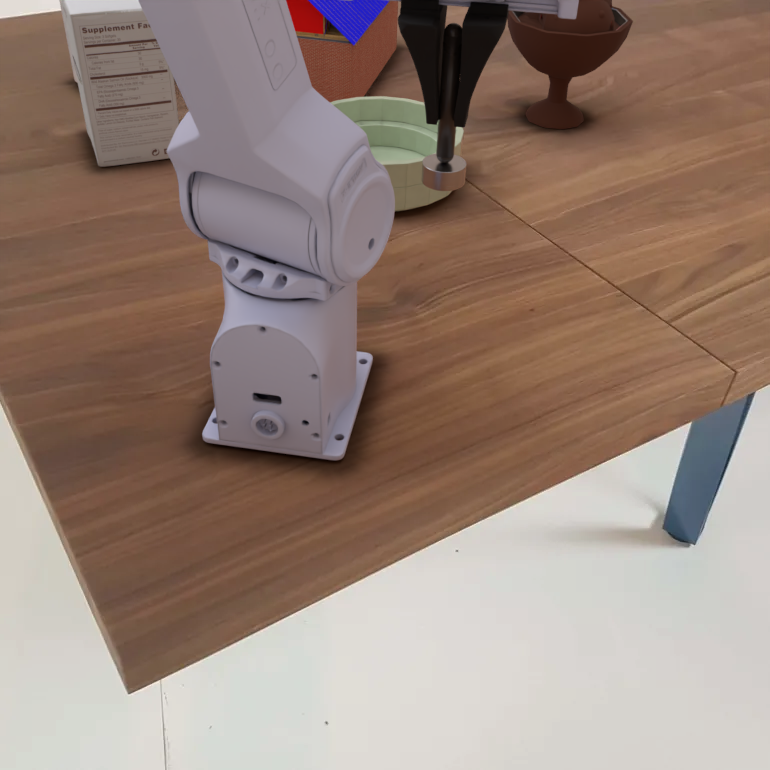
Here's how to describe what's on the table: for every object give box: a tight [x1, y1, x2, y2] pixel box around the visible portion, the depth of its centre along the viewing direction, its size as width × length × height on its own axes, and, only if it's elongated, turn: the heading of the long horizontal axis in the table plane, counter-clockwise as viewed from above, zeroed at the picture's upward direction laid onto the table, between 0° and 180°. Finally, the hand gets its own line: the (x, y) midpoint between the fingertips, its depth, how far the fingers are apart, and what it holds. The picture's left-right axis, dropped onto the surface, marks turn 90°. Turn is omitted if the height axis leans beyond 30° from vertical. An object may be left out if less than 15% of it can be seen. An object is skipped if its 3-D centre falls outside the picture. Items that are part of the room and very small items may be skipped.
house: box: [286, 0, 399, 102], centre depth 91 cm, size 12×20×12 cm, turn 167°
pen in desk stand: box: [421, 22, 468, 192], centre depth 60 cm, size 3×3×11 cm
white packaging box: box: [62, 0, 180, 168], centre depth 76 cm, size 7×7×13 cm
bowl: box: [330, 95, 465, 212], centre depth 75 cm, size 13×13×4 cm
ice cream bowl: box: [507, 0, 634, 130], centre depth 83 cm, size 11×11×15 cm
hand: (447, 119), depth 60 cm, fingers closed on pen in desk stand
